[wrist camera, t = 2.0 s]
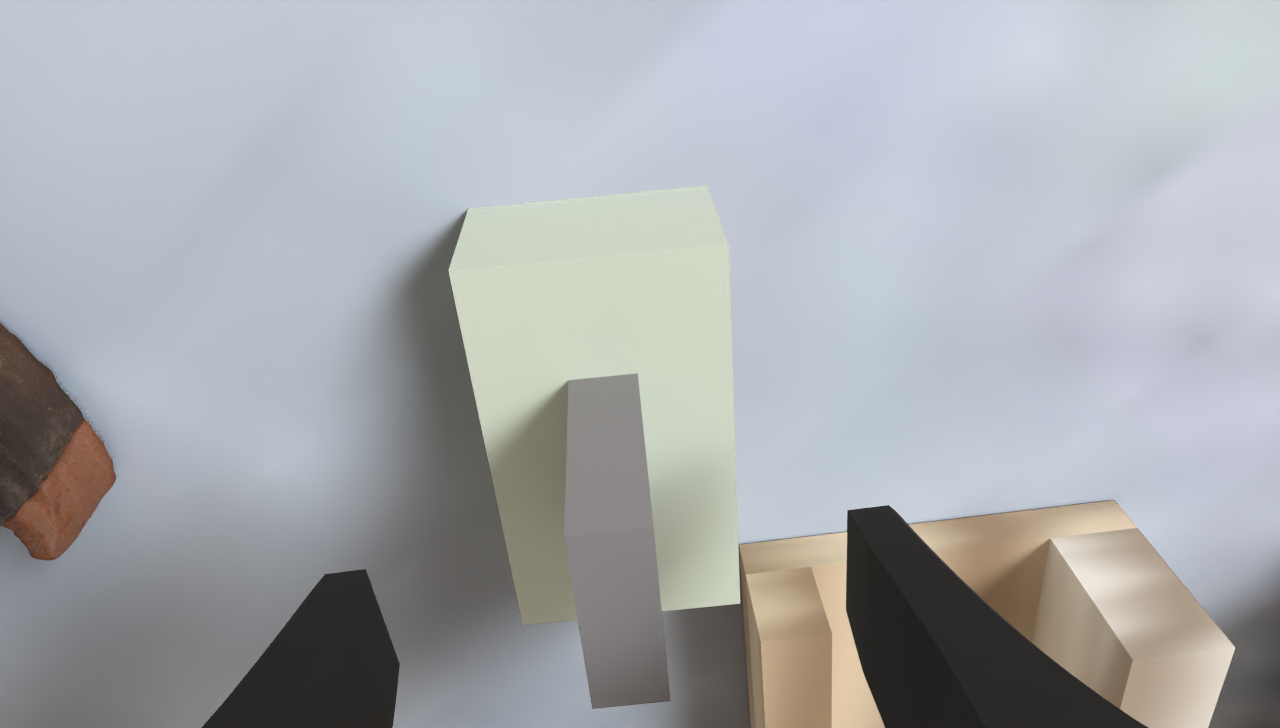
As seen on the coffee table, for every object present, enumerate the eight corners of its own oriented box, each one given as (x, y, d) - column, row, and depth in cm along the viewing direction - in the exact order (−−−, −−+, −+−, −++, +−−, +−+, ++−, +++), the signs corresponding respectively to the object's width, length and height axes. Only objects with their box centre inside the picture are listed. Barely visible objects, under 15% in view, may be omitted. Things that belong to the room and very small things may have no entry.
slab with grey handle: (706, 181, 17) (775, 370, 11) (720, 509, 21) (777, 780, 15) (469, 205, 17) (404, 407, 11) (530, 528, 21) (508, 807, 15)
